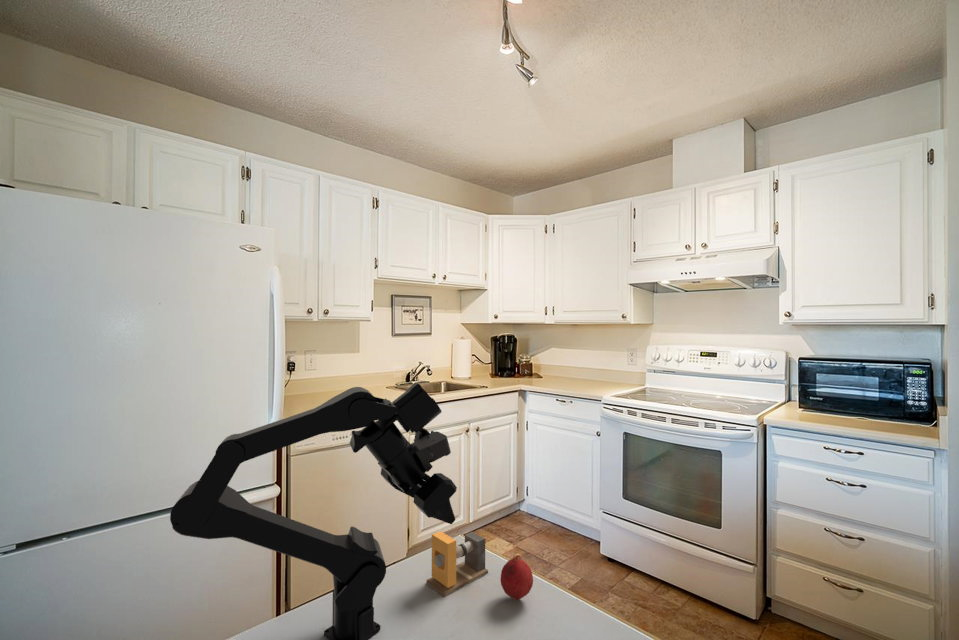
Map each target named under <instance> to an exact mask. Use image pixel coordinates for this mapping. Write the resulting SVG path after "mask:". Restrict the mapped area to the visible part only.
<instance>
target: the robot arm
mask: <svg viewBox="0 0 959 640" xmlns="http://www.w3.org/2000/svg"><path fill="white" fill-rule="evenodd" d="M441 413H442V409H441V408H440V405H439V404H438V403H437V401H436V399H434V398H433V397H431V396H430V395H429V393H428V392H427V391H426V390H425V389H424V388H423V387H422V386H421V384H420V383H418V382H414V383H412V384H411V385H410V386H409V388H408V389H407V390H406V391H405V392H404V393H402V394H400V395H399V396H398V397H397V398H395V399H393V401H391V400H389V399H387V398H381V397H377V396H374V395H373V394H372V392H370V391H369V390H368V389H366V388H365V387H361V386H353V387H350V388H348V389H346V390H344V391H342V392H341V393H338V394H337V395H335V396H333V397H331V398H330V399H328V400H326V401H325V402H324V403H322V404H320V405H318V406H316V407H314V408H312V409H308V410H305V411H303V412H300V413H296V414H293V415H291V416H288V417H284V418H281V419H279V420H276V421H273V422H271V423H270V422H269V423H267V424H265V425H261V426H258V427H256V428H253V429H249V430H246V431H243V432H241V433H233V434H230V435H228V436H226V437H225V438H224V439H223V440H222V441H221V442H220V444H218V446H217V448H216V450H215V453H214V454H215V455H214V456H213V457H212V459H211V461H210V462H209V464H208V465H207V467H206V469H205V470H204V472H203V473H202V475H201V476H200V478H199V480H197V481H195V482H194V483H192V484H190V485H189V486H188V488H187V489H186V490H185V491H184V492H183V494H182V495H181V496H180V497H179V498H178V500H177V501H176V502H175V504H174V505H173V506H172V508H171V512H170V513H169V514H170V517H169V519H170V524H171V526H172V530H173V531H174V532H175V533H177V534H179V535H182V536H183V537H190V538H191V537H192V538H197V539H205V540H217V539H228V538H234V539H238V540H240V541H241V540H242V541H244V542H248V543H250V544H253V545H256V546H260V547H262V548H264V549H267V550H268V549H269V550H271V551H274V552H277V553H280V554H283V555H286V556H289V557H292V558H295V559H298V560H301V561H304V562H306V563H309V564H312V565H316V566H319V567H322V568H324V569H325V570H327V571H328V572H329V573H330V574H331V575H332V581H333V590H332V621H331V626H329V627H328V628H326V629H325V630H324V631H323V636H324V637H326V638H327V639H328V640H368V639H370V638H371V637H372V636H374V635H375V634H376V633H378V632H380V630H381V624H379V623H378V622H376V621H375V620H374V619H375V607H374V597H375V594H376V591H377V587H379V586H380V585H381V584H382V582H383V581H384V579H385V576H386V574H387V564H386V562H385V561H386V560H385V558H384V555H383V552H382V548H381V546H380V543H379V541H378V540H377V539H375V538H374V534H373V532H364V531H361V530H360V529H359V528H357V527H355V526H350V528H349V531H348V533H347V534H340V535H339V534H333V533H330V532H328V531H325V530H322V529H320V528H316V527H314V526H311V525H309V524H305V523H303V522H301V521H298V520H294V519H293V518H292V519H291V518H288V516H284V515H280V514H278V513H275V512H272V511H270V510H267V509H264V508H262V507H259V506H255V505H253V504H252V503H250V502H249V501H248V500H247V499H245V497H243V496H242V495H241V494H240V493H239V492H238V491H237V490H235V489H234V488H232V487H231V486H229V483H230V482H231V480H232V478H233V477H234V475H235V473H236V472H237V470H238V468H239V466H240V465H241V464H242V463H244V462H247V461H250V460H252V459H255V458H258V457H261V456H263V455H266V454H269V453H272V452H275V451H277V450H280V449H282V448H286V447H288V446H291V445H294V444H297V443H300V442H303V441H305V440H307V439H310V438H313V437H316V436H319V435H321V434H327V433H337V432H339V433H340V432H346V431H351V437H350V441H349V446H350V447H351V450H352V453H354V454H355V453H358V452H360V450H362V449H363V448H364V447H366V448H367V450H368V451H369V452H370V454H371V455H372V456H373V457H374V458H375V459H376V461H377V464H378V465H379V467H380V468H381V469H380V475H381V477H382V478H383V479H384V480H385V482H387V483H388V484H389V485H390V486H391V487H393V488H394V489H395V490H397V491H398V492H400V493H403V494H404V495H407V496H409V497H410V498H412V499H413V503H414V505H415V506H416V507H417V508H418V509H419V510H420V512H422V514H424V515H425V517H428V518H432V519H436V520H437V521H441V522H444V523H446V524H449V525H453V523H455V521H456V517H455V514H454V510H453V506H452V504H451V500H450V499H451V498H452V497H453V495H454V494H455V493H456V492H457V486H456V484H455V482H454V481H453V480H452V479H451V478H449V477H447V476H446V475H445V474H443V473H442V472H439V473H436V472H435V473H433V474H432V475H431V476H430V475H428V474H427V473H428V472H430V471H431V470H432V469H433V468H434V466H433V465H432V463H434V462H436V461H437V460H439V459H441V458H443V457H447V456H449V455H450V454H451V453H452V452H451V447H450V444H449V439H448V437H447V435H445V434H444V433H442V432H440V431H434V430H431V431H429V430H428V429H426V428H425V426H427V425H428V424H429V423H430V422H432V421H433V420H434V419H435V418H437V416H439V415H440V414H441ZM396 421H397V422H398V423H399V425H400V427H402V429H403V430H404V431H405V432H406V433H407V434H408V433H409V432H411V433H415V434H414V439H413V442H412V443H410V441H409V440H407V438H406V437H405V436H404V434H403V433H402V431H401V430H400V429H399V427H398V426H397V425H396V424H395V422H396ZM356 429H357V430H356ZM358 429H360V430H358Z"/></svg>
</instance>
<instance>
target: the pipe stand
mask: <svg viewBox="0 0 959 640" xmlns="http://www.w3.org/2000/svg"><path fill="white" fill-rule="evenodd" d="M463 557H464V560H463V562H461V563H458V564H456V584H455V585H453V586H451V587H449V588H447V587H446V586H444V585H443V584H441V583H440V582H439V581H437V580H436V579H434V578H433V577H432V576H431V577H430V578H427V579H426V580H425V581H426V582H425V583H426V585H428V586H429V587H431V588H432V589H434V590H435V591H436V592H438V593H439V594H441V595H442V596H443V597H447V596H448V595H450V594H452V593H454V592H456V591H458V590H460V589H461V588H463V587H465V586H467V585H469V584H471V583H472V582H474V581H476V580H477V579H480V578H481V577H484V576H485V575H487V574H489V570H488V569H487V568H486V538H485V537H483V536H481V535H479V534H477V533H475V532H474V531H470V532H468V533H465V534H464V543H459V544H458V545H456V560H458V559H460V558H463ZM434 562H435V564H436V566H437V567H441V566H443V565H445V556H444V555H443V554H439V555H437V556H435V558H434Z"/></svg>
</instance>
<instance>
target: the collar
mask: <svg viewBox="0 0 959 640" xmlns="http://www.w3.org/2000/svg"><path fill="white" fill-rule="evenodd" d="M456 547H457V540H456V539H454V538H453V537H451V536H449V535H448V534H446V533H444V532H442V531H436V532H434V533H432V534H431V578H432V577H433V578H434V579H436V580H437V581H439V582H440V583H441V584H443V585H444V586H446V587H447V588H449V587H451V586H453V585H455V584H456V565H457V559H456ZM439 554H443V555H444V556H445V565H443V566H441V567H437V566H436V564H435V562H434V558H435V556H437V555H439Z"/></svg>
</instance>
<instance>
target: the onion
mask: <svg viewBox="0 0 959 640" xmlns="http://www.w3.org/2000/svg"><path fill="white" fill-rule="evenodd" d="M500 585H501V587H502V590H503V591H504V593H505V594H506V595H507V596H508V597H510V598H511V599H513V600H515V601H520V600H521V599H523V598H524V597H526V596H527V595H528V594H529V593H530V591H531V590H532V588H533V585H534V575H533V571H532V569H531V567H530V566H529V565H528V563H527V562H526V561H524V560H523V559H522V555H521V554H520V553H516V554H515V555H514V556H513V557H512V558H511V559H509V560H508V561H507V562H506V563H505V564H504V565H503V567H502V569H501V573H500Z"/></svg>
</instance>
